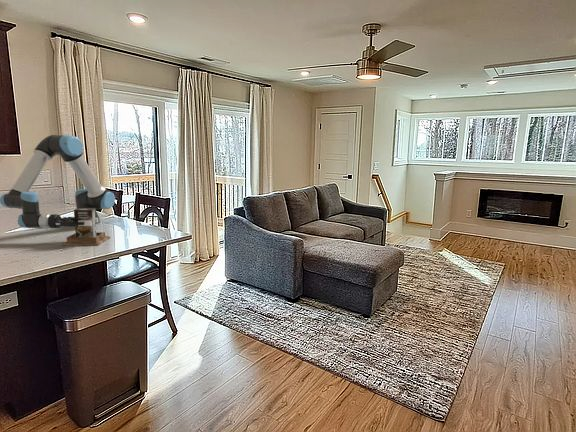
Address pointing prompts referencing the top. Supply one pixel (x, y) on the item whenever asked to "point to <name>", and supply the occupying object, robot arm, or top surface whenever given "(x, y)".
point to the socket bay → (87, 239)
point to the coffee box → (85, 215)
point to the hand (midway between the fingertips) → (94, 221)
